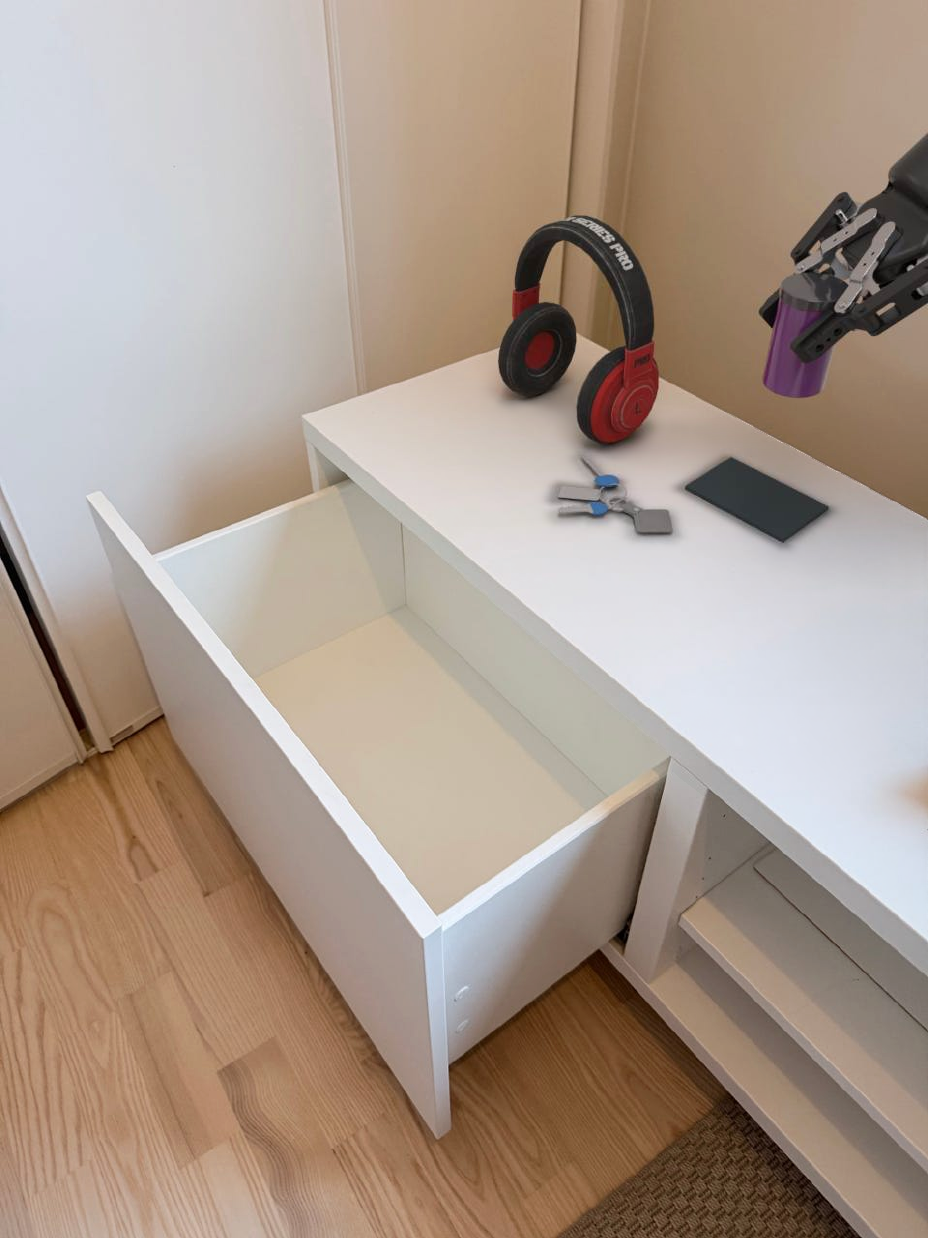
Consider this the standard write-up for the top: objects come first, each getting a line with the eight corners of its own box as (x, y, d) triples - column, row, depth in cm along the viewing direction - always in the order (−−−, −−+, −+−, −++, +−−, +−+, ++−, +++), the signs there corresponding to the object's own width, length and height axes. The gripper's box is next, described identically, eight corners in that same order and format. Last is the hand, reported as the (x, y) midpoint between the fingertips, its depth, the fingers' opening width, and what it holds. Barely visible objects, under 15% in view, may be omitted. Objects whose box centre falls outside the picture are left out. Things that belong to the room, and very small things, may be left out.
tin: (837, 382, 75) (864, 286, 69) (801, 406, 72) (826, 308, 67) (784, 360, 78) (806, 266, 72) (748, 382, 75) (767, 286, 70)
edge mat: (828, 509, 86) (829, 506, 86) (782, 542, 83) (783, 539, 82) (730, 459, 92) (731, 456, 92) (684, 488, 89) (685, 485, 88)
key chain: (686, 526, 84) (687, 519, 84) (619, 562, 81) (619, 555, 80) (583, 457, 93) (584, 450, 92) (518, 487, 89) (518, 480, 89)
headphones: (667, 433, 96) (697, 237, 82) (596, 469, 91) (614, 268, 77) (554, 367, 106) (563, 183, 92) (485, 396, 101) (483, 208, 88)
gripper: (901, 89, 68) (717, 269, 75) (1023, 154, 58) (798, 355, 65) (943, 160, 72) (766, 323, 79) (1064, 232, 62) (849, 412, 69)
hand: (781, 337), depth 72 cm, fingers closed on tin, 5 cm apart
